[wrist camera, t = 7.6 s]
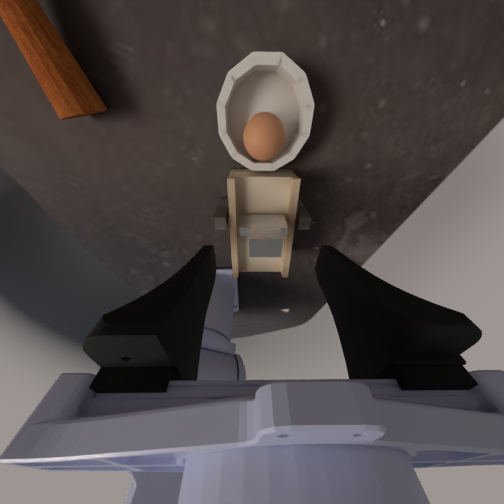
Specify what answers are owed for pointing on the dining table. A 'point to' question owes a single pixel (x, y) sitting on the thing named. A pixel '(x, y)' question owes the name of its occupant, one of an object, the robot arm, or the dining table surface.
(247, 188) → the wooden box
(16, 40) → the kendama
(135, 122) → the dining table surface
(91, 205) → the dining table surface
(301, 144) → the white round shallow bowl
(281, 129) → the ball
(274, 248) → the gate
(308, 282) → the dining table surface
